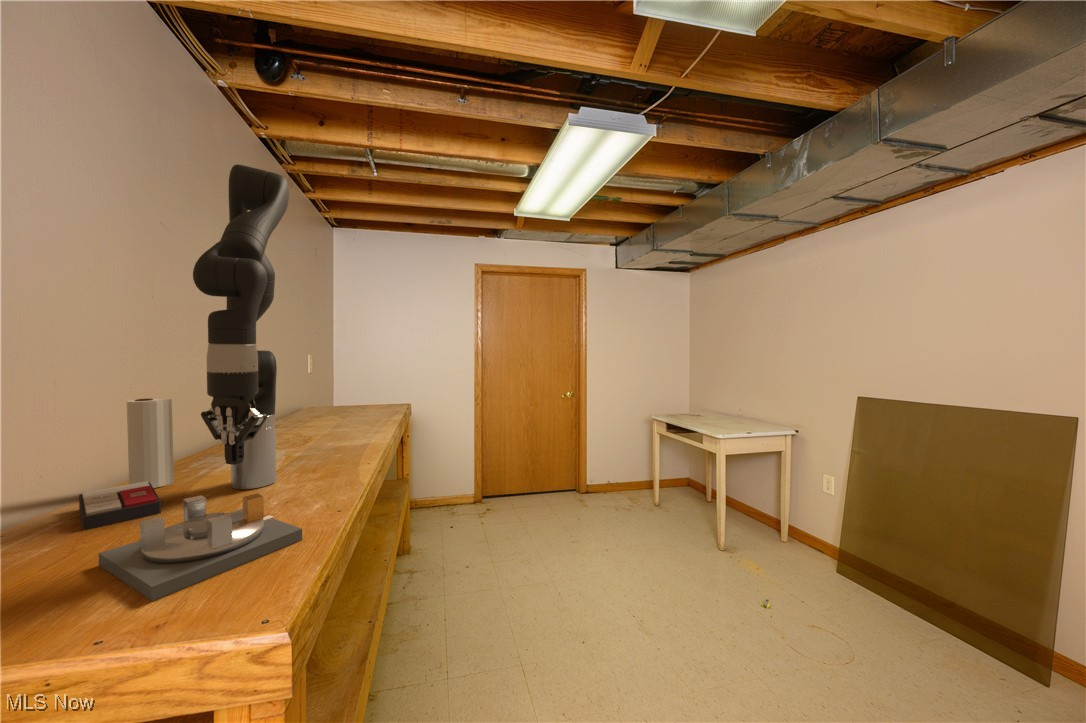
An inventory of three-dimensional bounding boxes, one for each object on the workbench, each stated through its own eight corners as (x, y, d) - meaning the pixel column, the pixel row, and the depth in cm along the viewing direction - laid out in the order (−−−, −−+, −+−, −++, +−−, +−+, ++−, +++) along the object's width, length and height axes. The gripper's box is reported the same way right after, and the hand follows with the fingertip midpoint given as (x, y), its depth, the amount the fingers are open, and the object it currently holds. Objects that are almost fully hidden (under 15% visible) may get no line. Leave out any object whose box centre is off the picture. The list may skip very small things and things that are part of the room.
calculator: (82, 513, 79) (78, 490, 89) (83, 535, 79) (79, 510, 89) (161, 497, 87) (149, 478, 97) (161, 517, 88) (150, 496, 97)
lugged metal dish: (188, 520, 78) (187, 493, 78) (280, 517, 81) (280, 490, 80) (112, 565, 63) (111, 531, 62) (229, 559, 65) (229, 526, 64)
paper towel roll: (121, 490, 100) (119, 400, 99) (149, 482, 106) (146, 397, 105) (148, 492, 99) (145, 401, 98) (174, 484, 105) (171, 398, 104)
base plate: (98, 565, 67) (98, 550, 67) (244, 518, 85) (244, 506, 85) (152, 601, 58) (151, 584, 58) (302, 539, 76) (302, 526, 76)
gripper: (280, 369, 79) (281, 461, 80) (224, 366, 82) (225, 454, 83) (243, 372, 72) (244, 473, 73) (183, 368, 75) (185, 465, 76)
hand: (234, 463), depth 78 cm, fingers closed
